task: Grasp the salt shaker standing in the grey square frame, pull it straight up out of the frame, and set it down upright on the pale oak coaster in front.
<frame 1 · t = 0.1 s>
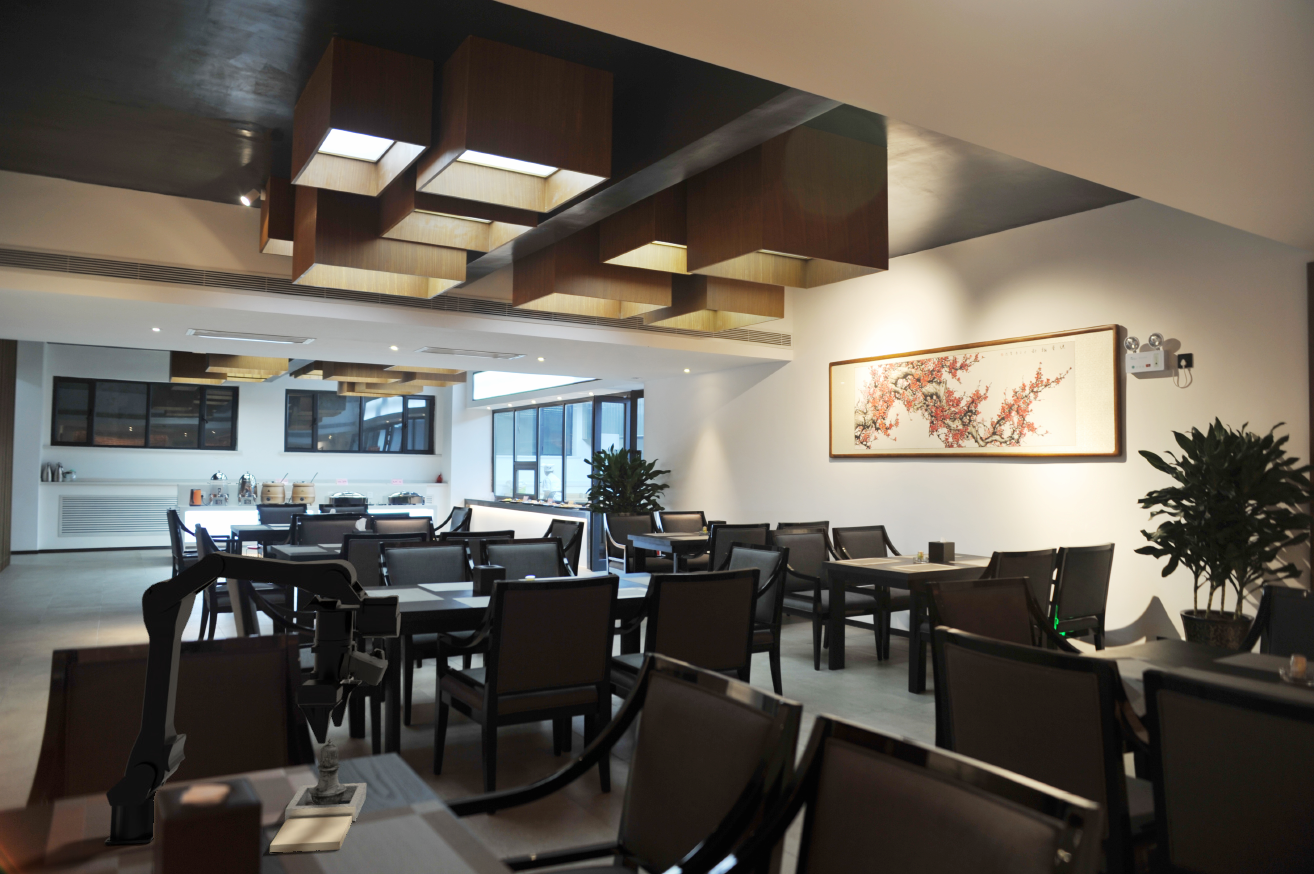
hand: (330, 734, 139), 15 cm above the table, tool pointing down, fingers open, 9 cm apart
grey square frame: (327, 810, 144), on the table
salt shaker: (327, 811, 144), resting in grey square frame
oak coaster: (312, 837, 133), on the table
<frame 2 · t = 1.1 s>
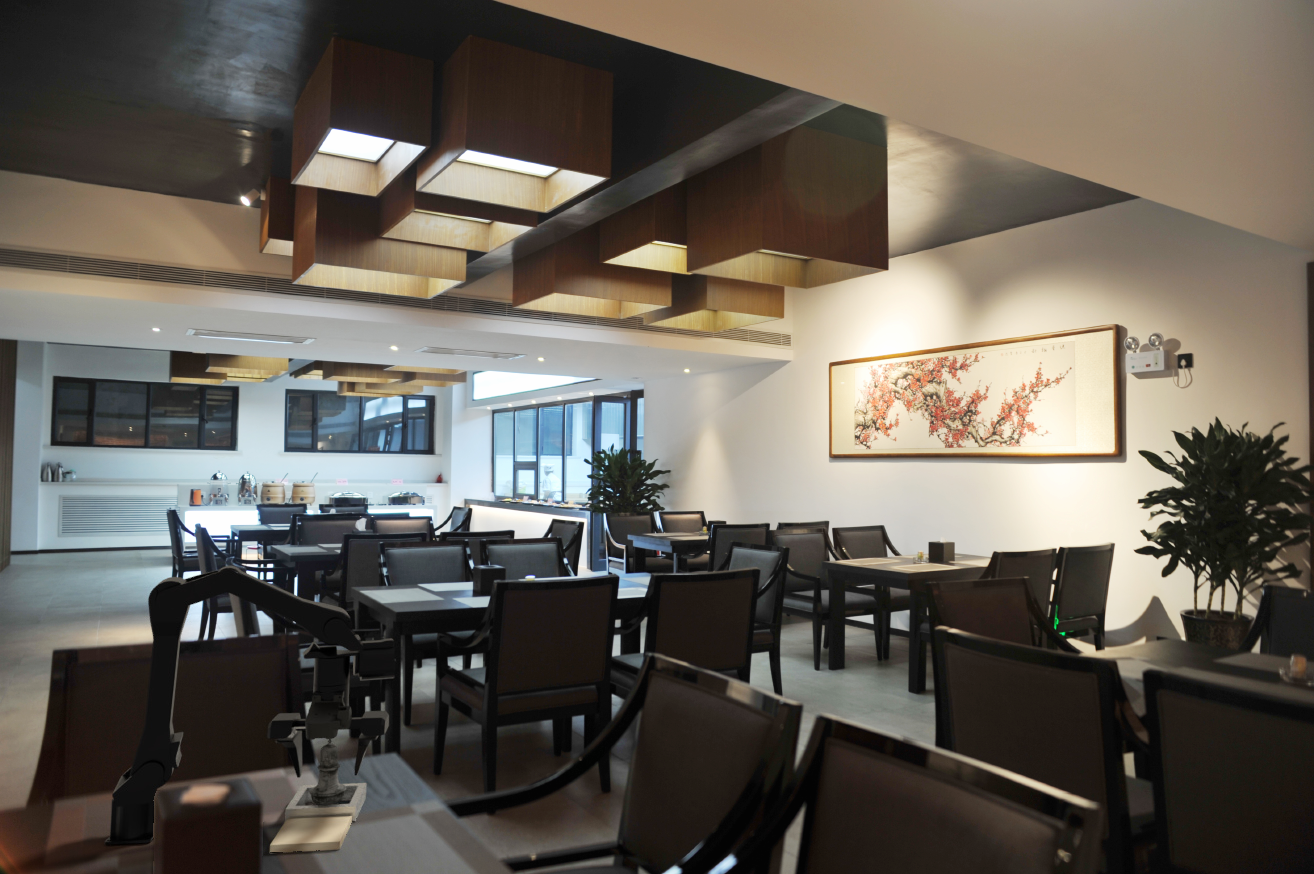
hand: (327, 775, 144), 6 cm above the table, tool pointing down, fingers open, 9 cm apart
nothing on the table moved.
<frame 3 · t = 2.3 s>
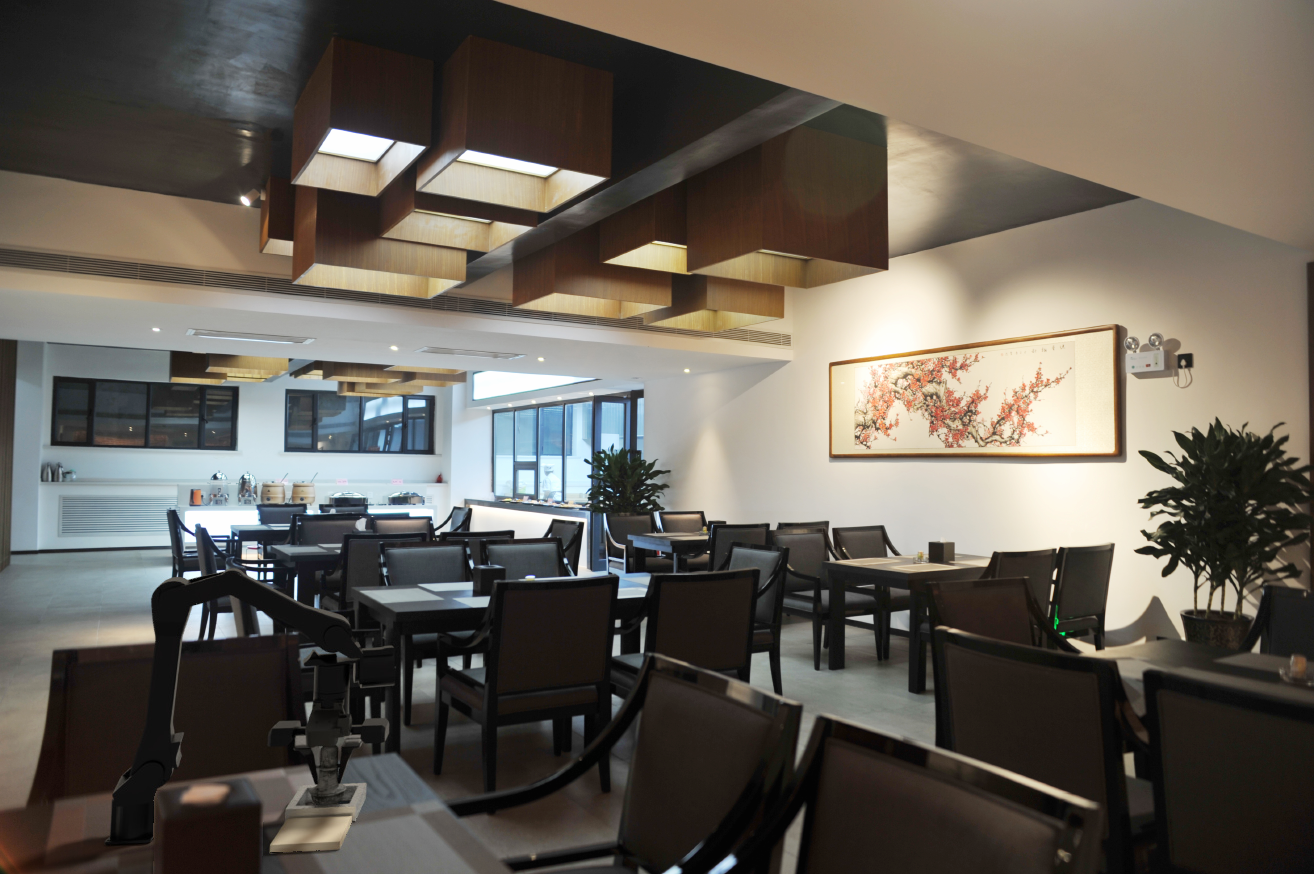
hand: (328, 783, 144), 5 cm above the table, tool pointing down, fingers closed on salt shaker, 3 cm apart
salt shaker: (327, 811, 144), resting in grey square frame, touching gripper
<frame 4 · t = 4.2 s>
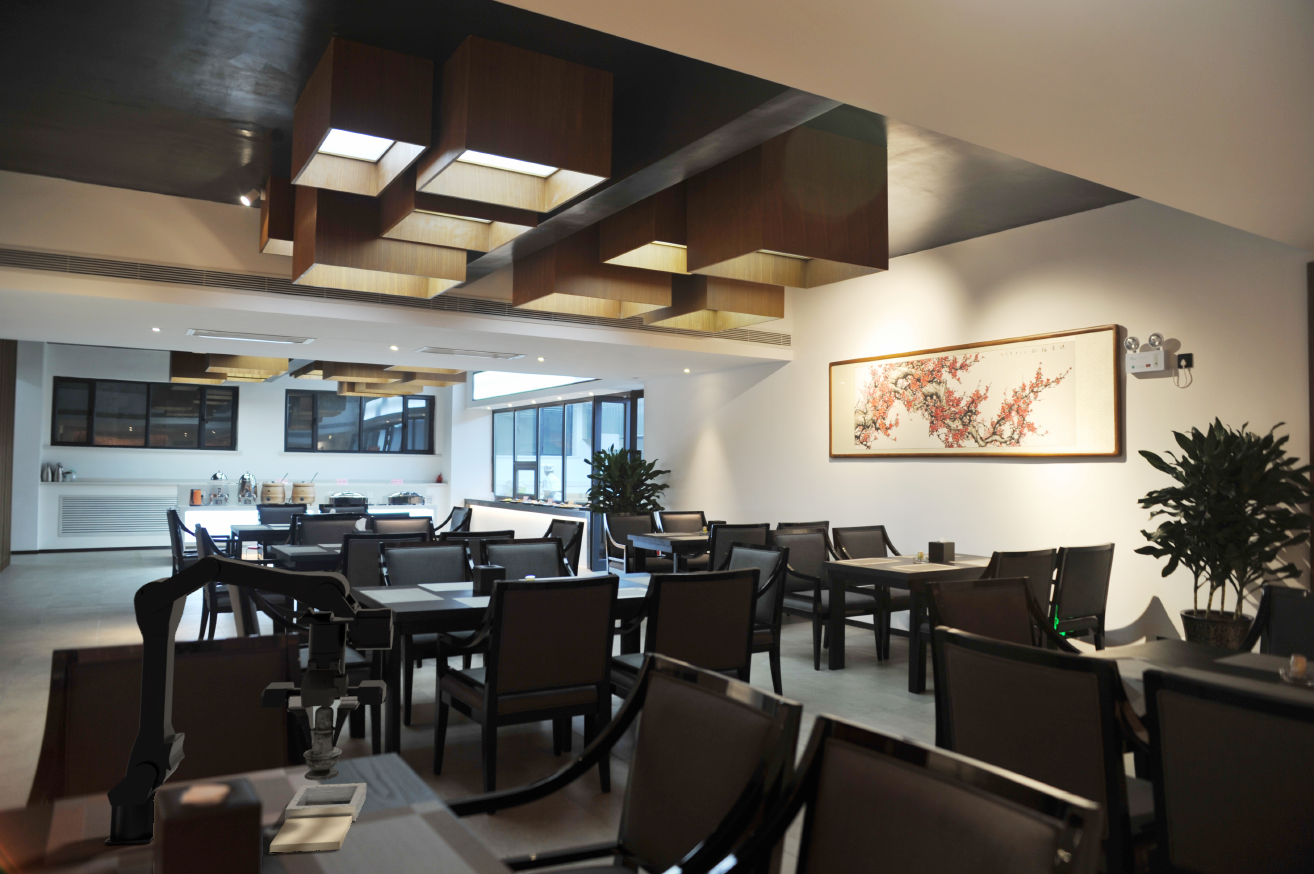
hand: (322, 746, 139), 12 cm above the table, tool pointing down, fingers closed on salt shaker, 3 cm apart
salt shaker: (321, 775, 139), point 8 cm above the table, touching gripper
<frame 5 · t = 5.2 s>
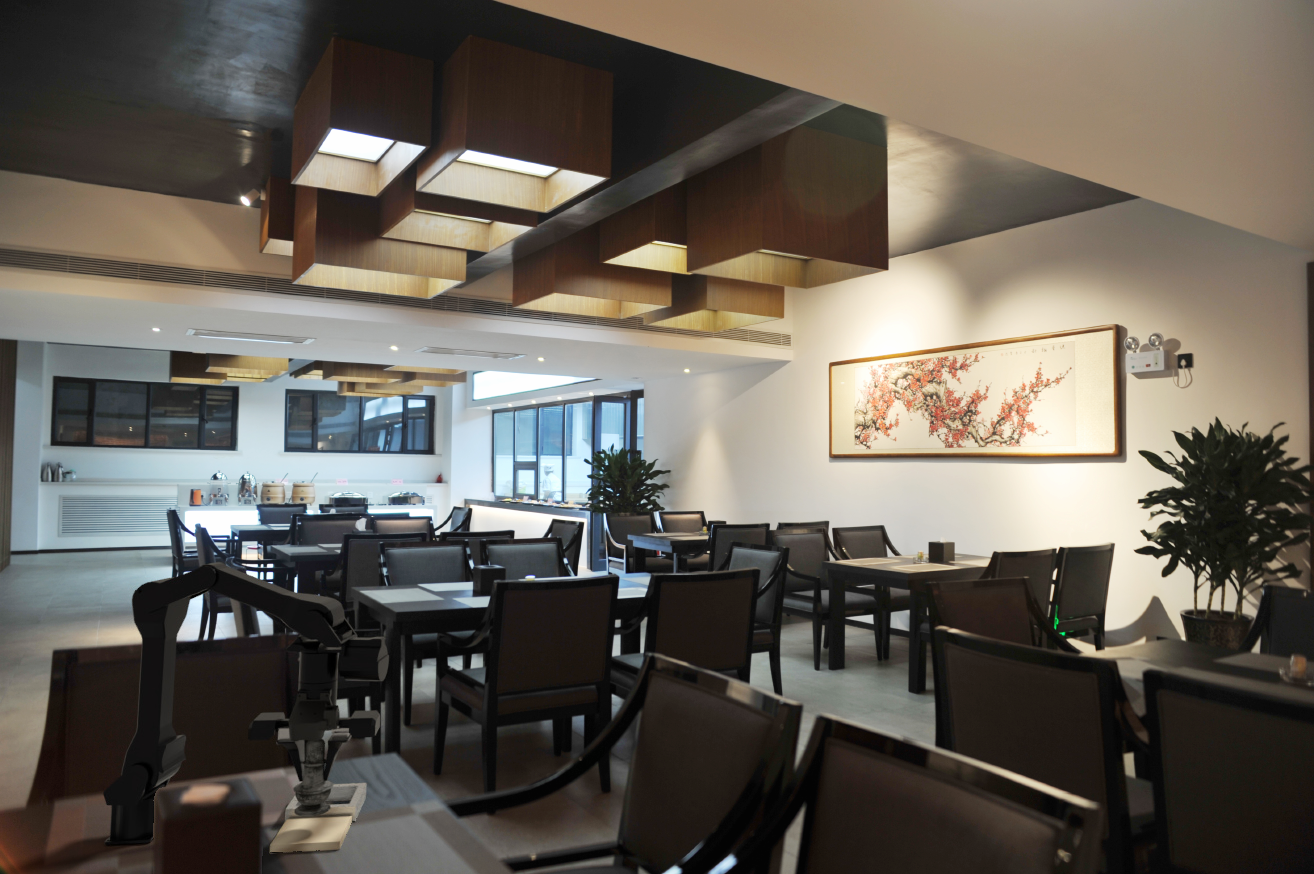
hand: (313, 780, 134), 9 cm above the table, tool pointing down, fingers closed on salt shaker, 3 cm apart
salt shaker: (312, 810, 133), point 4 cm above the table, touching gripper
when the fingers open (7 cm above the table, at t = 6.2 s): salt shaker drops 1 cm, resting on oak coaster.
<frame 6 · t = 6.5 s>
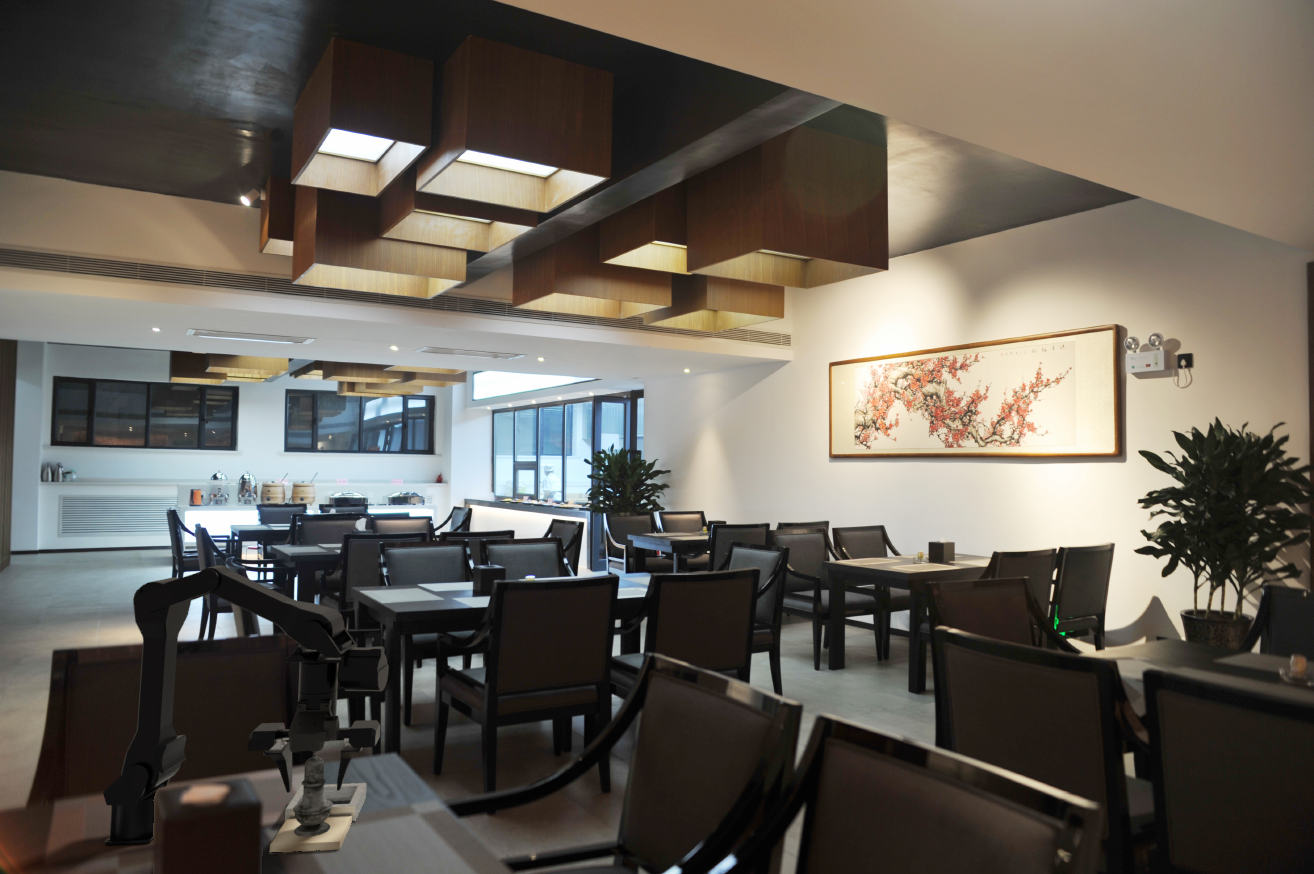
hand: (314, 790, 134), 7 cm above the table, tool pointing down, fingers open, 7 cm apart
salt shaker: (312, 830, 133), point 1 cm above the table, touching oak coaster
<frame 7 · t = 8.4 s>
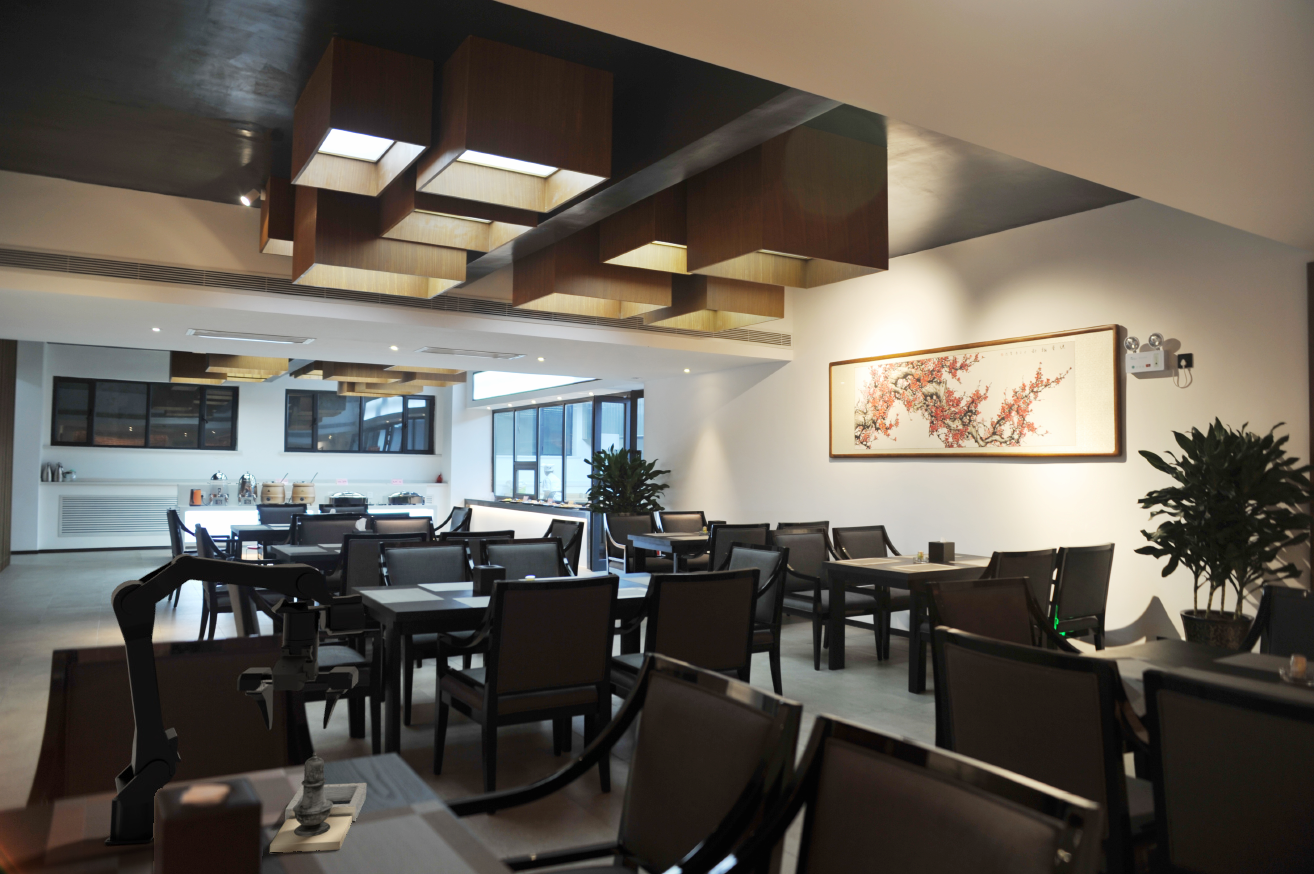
hand: (297, 728, 147), 13 cm above the table, tool pointing down, fingers open, 9 cm apart
nothing on the table moved.
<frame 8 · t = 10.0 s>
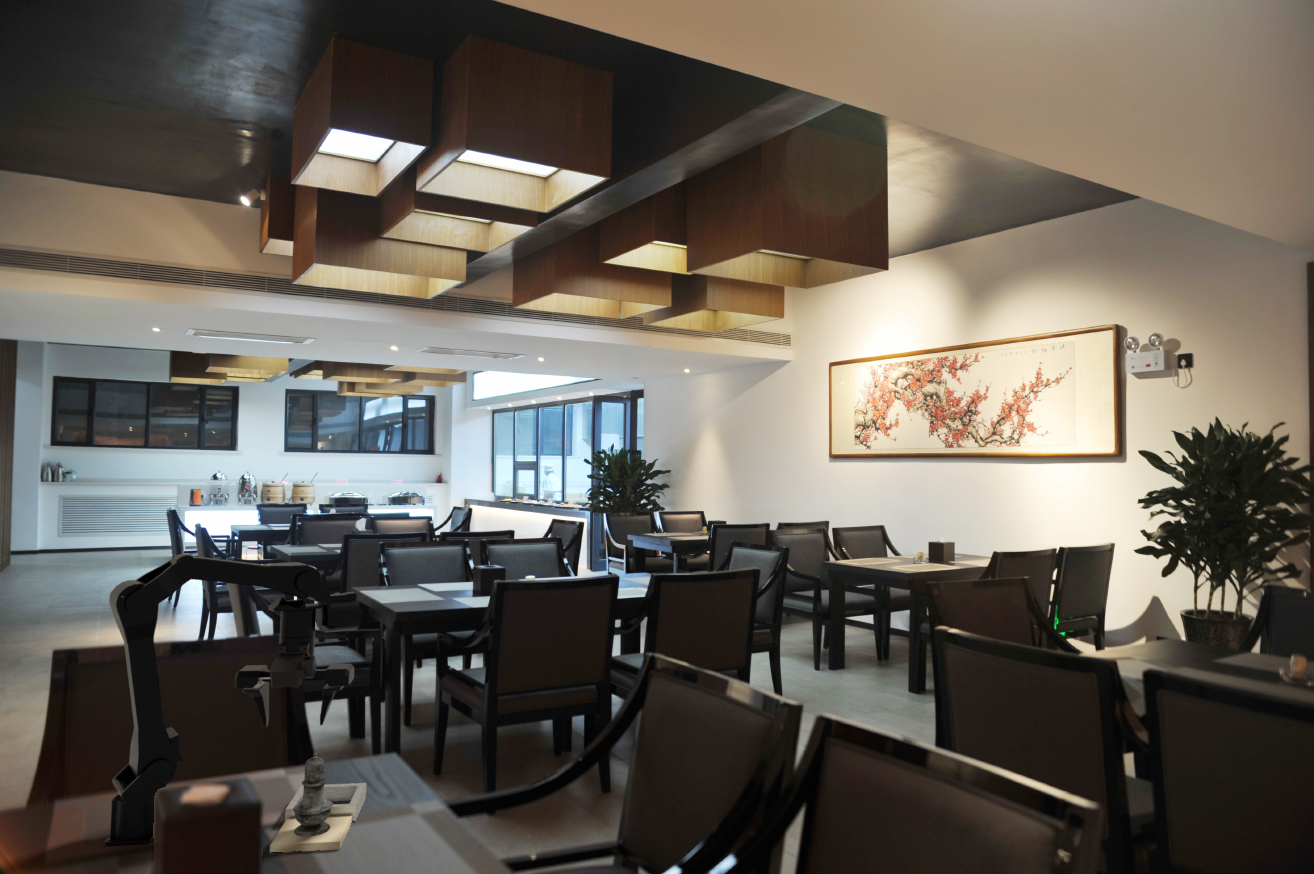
hand: (293, 725, 148), 13 cm above the table, tool pointing down, fingers open, 9 cm apart
nothing on the table moved.
at the end: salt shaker inside the target area (0.1 cm from its centre), point 1.0 cm above the table; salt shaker tilted 0°; the gripper is holding nothing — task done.
